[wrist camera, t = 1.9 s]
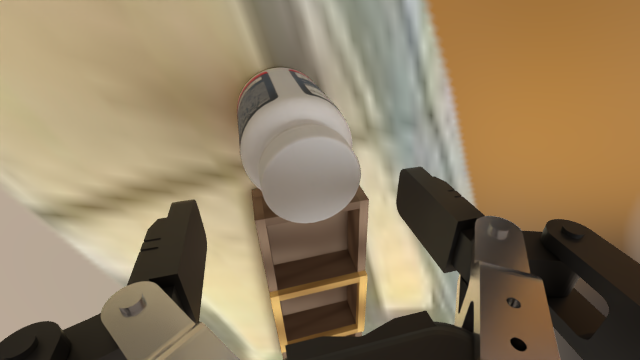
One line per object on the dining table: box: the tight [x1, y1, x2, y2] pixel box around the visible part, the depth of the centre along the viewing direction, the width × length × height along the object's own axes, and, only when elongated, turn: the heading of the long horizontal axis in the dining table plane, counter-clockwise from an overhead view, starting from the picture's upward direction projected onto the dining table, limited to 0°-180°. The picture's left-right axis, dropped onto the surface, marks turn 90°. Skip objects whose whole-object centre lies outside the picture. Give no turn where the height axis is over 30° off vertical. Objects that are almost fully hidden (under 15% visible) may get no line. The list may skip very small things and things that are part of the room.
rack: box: [252, 185, 369, 359], centre depth 26 cm, size 21×8×4 cm, turn 4°
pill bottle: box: [237, 67, 361, 223], centre depth 15 cm, size 5×5×9 cm
